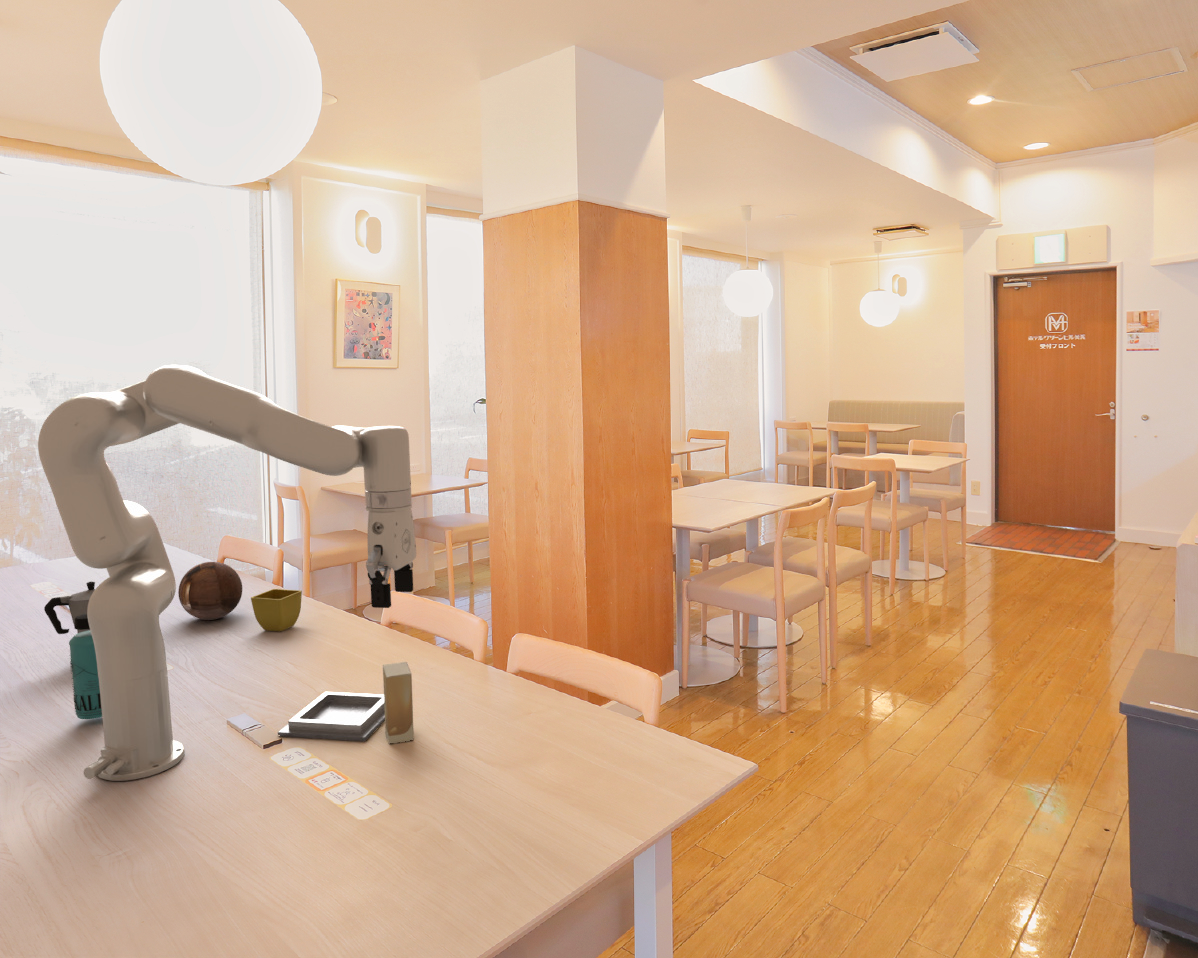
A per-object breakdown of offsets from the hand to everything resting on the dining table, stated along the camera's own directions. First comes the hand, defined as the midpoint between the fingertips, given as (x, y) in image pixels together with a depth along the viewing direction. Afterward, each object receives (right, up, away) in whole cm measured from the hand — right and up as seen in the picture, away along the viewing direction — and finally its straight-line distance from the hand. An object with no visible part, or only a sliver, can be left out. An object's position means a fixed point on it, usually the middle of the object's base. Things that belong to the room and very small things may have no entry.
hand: (393, 599), depth 137 cm
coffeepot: (-78, -20, +42) cm, 91 cm away
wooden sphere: (-66, -16, +73) cm, 100 cm away
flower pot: (-45, -17, +64) cm, 80 cm away
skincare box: (0, -24, +3) cm, 25 cm away
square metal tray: (-12, -24, +10) cm, 28 cm away
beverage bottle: (-57, -24, +11) cm, 63 cm away
